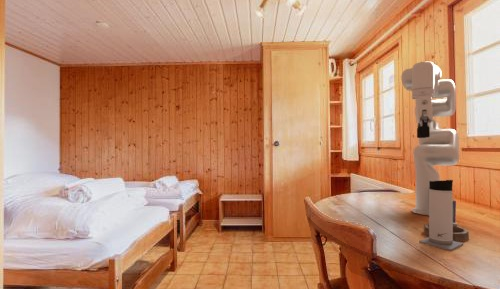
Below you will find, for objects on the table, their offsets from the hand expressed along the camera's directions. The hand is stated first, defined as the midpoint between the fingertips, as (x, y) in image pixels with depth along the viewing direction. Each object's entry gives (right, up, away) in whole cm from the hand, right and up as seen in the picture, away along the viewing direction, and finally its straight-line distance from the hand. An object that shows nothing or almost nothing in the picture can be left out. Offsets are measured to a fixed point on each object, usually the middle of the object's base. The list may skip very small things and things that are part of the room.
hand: (423, 137), depth 114 cm
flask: (+8, -34, -2) cm, 36 cm away
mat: (-8, -34, -22) cm, 42 cm away
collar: (0, -34, -14) cm, 37 cm away
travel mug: (-8, -34, -22) cm, 41 cm away
